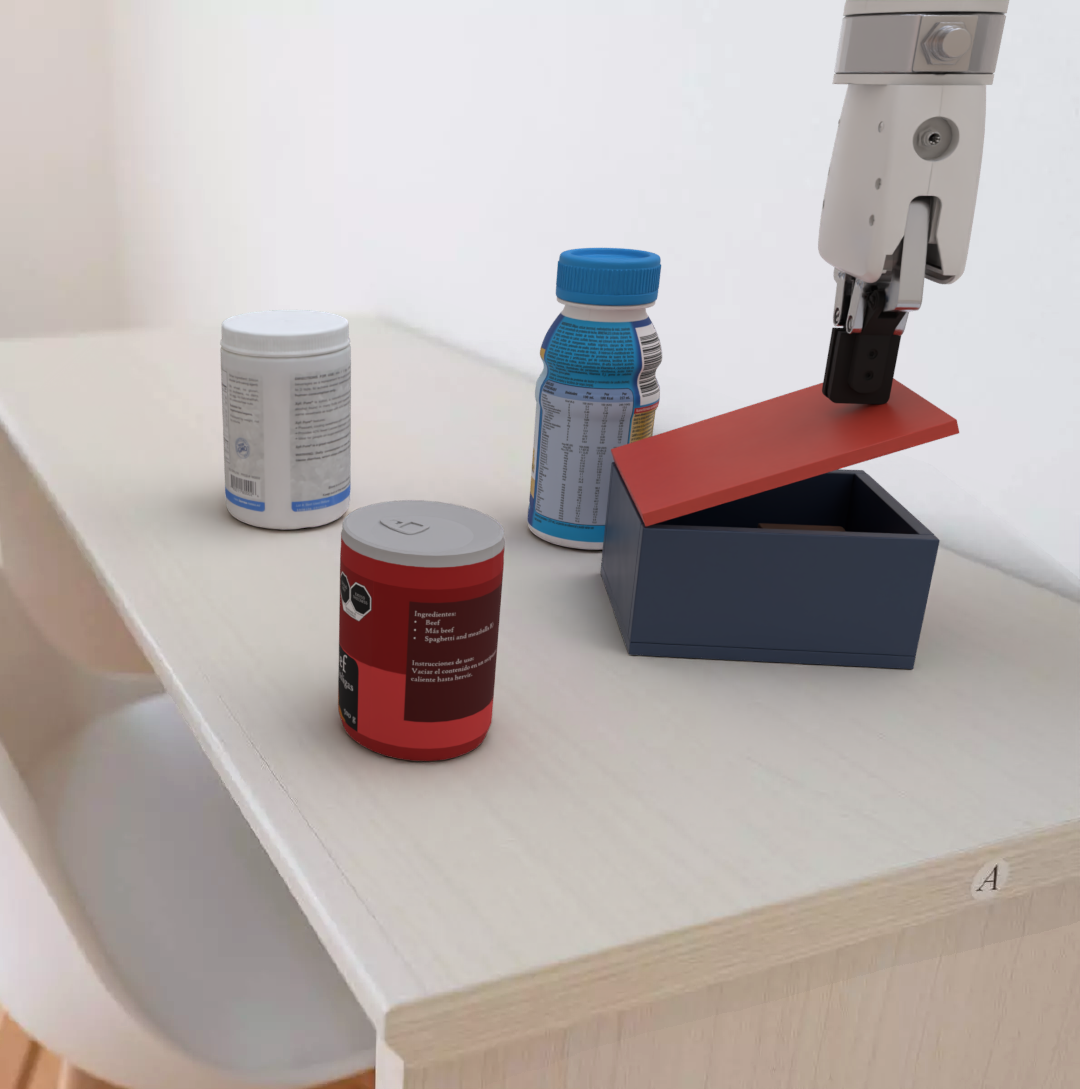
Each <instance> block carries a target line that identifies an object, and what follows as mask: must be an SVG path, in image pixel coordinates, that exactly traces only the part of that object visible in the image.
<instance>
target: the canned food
mask: <svg viewBox="0 0 1080 1089" xmlns="http://www.w3.org/2000/svg"><path fill="white" fill-rule="evenodd" d="M505 543H506V541H505V529H504V526H503V525H502V524H501V523H500V522H499V521H498V520H497V519H495V518H494V517H492V516H490V515H488V514H487V513H484V512H481V511H480V510H477V509H473V508H471V507H467V506H464V505H459V504H455V503H449V502H444V501H435V500H424V499H423V500H418V499H417V500H416V499H405V500H390V501H380V502H377V503H373V504H368V505H365V506H362V507H359V508H357V509H355V510H353V511H350V512H349V513H348V514H347V515H346V516H345V517H344V519H343V521H342V529H341V532H340V553H339V607H338V608H339V610H338V611H339V614H338V618H339V619H338V673H337V674H338V679H337V680H338V682H337V684H338V685H337V709H338V715H339V717H340V720H341V723H342V726H343V728H344V730H345V732H346V734H347V735H348V736H349V737H350V738H351V739H352V740H353V741H355V742H356V743H357V744H359V745H361V747H364V748H366V749H368V750H370V751H371V752H374V753H377V754H379V755H382V756H385V757H389V758H393V759H398V760H404V761H411V762H412V761H413V762H436V761H445V760H449V759H455V758H458V757H461V756H464V755H466V754H468V753H470V752H472V751H473V750H475V749H477V748H478V747H479V746H481V744H482V743H483V742H484V741H485V738H486V736H487V734H488V732H489V730H490V727H491V725H492V722H493V709H494V698H495V697H494V696H495V685H496V684H495V681H496V669H497V657H498V644H499V631H500V618H501V605H502V604H501V603H502V593H503V592H502V591H503V581H504V580H503V578H504V566H505V546H506V544H505Z"/></svg>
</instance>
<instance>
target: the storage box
mask: <svg viewBox="0 0 1080 1089" xmlns="http://www.w3.org/2000/svg"><path fill="white" fill-rule="evenodd" d="M759 523H764V524H790V525H816V526H841V527H843V528H844V529H845V531H846V532H840V531H814V530H788V529H762V528H757V527H758V524H759ZM940 541H941V540H940V539H939V538H938V537H937V536H936V535H935V533H933V532H932V531H931V530H930V529H929V528H928V527H927V526H926V525H924V524H923V523H922V522H921V520H919V519H918V518H917V517H916V516H915V515H913V513H911V512H910V511H909V510H908V509H907V508H906V507H905V506H904V505H902V504H901V503H900V502H899V501H898V500H897V499H896V498H895V497H894V496H893V495H892V494H891V493H889V492H888V491H887V490H886V489H885V488H884V487H883V486H882V485H881V484H880V483H879V482H878V481H877V480H875V478H873V477H872V476H871V475H870V474H868V473H867V472H866V471H865V470H864V469H844V468H841V469H838V470H834V471H831V472H828V473H824V474H821V475H818V476H814V477H811V478H807V479H804V480H801V481H797V482H794V483H791V484H787V485H784V486H781V487H777V488H774V489H771V490H767V491H764V492H760V493H757V494H754V495H750V496H747V497H744V498H740V499H737V500H734V501H730V502H727V503H724V504H720V505H717V506H713V507H710V508H707V509H703V510H700V511H697V512H693V513H690V514H687V515H683V516H680V517H677V518H673V519H670V520H666V521H663V522H660V523H656V524H653V525H650V526H645V524H644V522H643V520H642V518H641V516H640V514H639V511H638V509H637V507H636V505H635V503H634V501H633V499H632V497H631V495H630V493H629V491H628V489H627V487H626V484H625V482H624V480H623V478H622V476H621V474H620V472H619V470H618V468H617V466H616V464H615V462H612V463H611V473H610V483H609V492H608V502H607V512H606V521H605V531H604V541H603V550H602V553H601V560H600V561H601V562H600V568H599V569H600V570H599V574H600V577H601V578H602V582H603V585H604V587H605V590H606V593H607V596H608V599H609V601H610V602H609V603H610V605H611V607H612V610H613V613H614V617H615V619H616V622H617V625H618V628H619V632H620V633H621V637H622V639H623V642H624V645H625V649H626V651H627V654H628V655H629V656H645V657H647V656H648V657H663V658H665V657H668V658H683V659H685V658H686V659H688V658H689V659H703V660H704V659H705V660H724V661H745V662H763V663H764V662H765V663H783V664H784V663H785V664H786V663H787V664H801V665H802V664H803V665H804V664H805V665H822V666H823V665H824V666H842V667H843V666H844V667H860V668H861V667H864V668H882V669H883V668H884V669H900V670H902V669H903V670H913V669H914V668H915V663H916V662H915V661H916V658H917V657H916V656H917V653H918V652H917V651H918V648H919V642H920V637H921V633H922V628H923V623H924V618H925V613H926V608H927V604H928V599H929V594H930V589H931V584H932V579H933V575H934V570H935V566H936V560H937V556H938V551H939V546H940Z"/></svg>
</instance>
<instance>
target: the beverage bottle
mask: <svg viewBox="0 0 1080 1089" xmlns="http://www.w3.org/2000/svg"><path fill="white" fill-rule="evenodd" d="M661 262H662V260H661V256H660V255H659V254H657V253H656V252H652V251H647V250H641V249H633V248H624V247H623V248H622V247H582V248H579V247H578V248H572V249H567V250H563V251H562V252H560V254H559V258H558V261H557V269H556V280H555V285H556V286H555V296H556V301H557V302H558V303H559V304H561V305H564V307H563V308H562V309H561V311H560V312H559V314H558V315H557V316H556V318H555V319H554V320H553V322H552V323H551V325H550V326H549V328H548V329H547V331H546V333H545V335H544V337H543V340H542V341H541V344H540V349H539V358H540V359H541V362H542V364H543V369H542V371H541V373H540V374H539V376H538V378H537V379H536V382H535V388H534V399H535V417H534V429H533V445H532V446H533V447H532V457H531V458H532V460H531V473H530V474H531V475H530V488H529V498H528V499H529V502H528V508H527V517H526V522H527V526H528V529H529V530H530V531H531V532H532V534H534V535H535V536H536V537H538V538H539V539H541V540H543V541H545V542H548V543H551V544H553V545H557V546H560V547H565V548H570V549H578V550H590V551H591V550H593V551H596V550H597V551H599V550H600V551H601V550H602V551H603V541H604V531H605V521H606V512H607V502H608V492H609V483H610V473H611V463H612V462H614V459H613V456H612V453H611V449H613V448H616V447H620V446H623V445H626V444H629V443H632V442H636V441H639V440H642V439H645V438H648V437H651V436H654V435H653V434H654V426H655V420H656V419H655V417H656V411H657V410H658V407H659V404H660V399H661V386H660V384H659V381H658V378H657V377H656V373H657V369H658V368H659V366H660V365H661V363H662V362H663V349H662V344H661V340H660V337H659V334H658V332H657V329H656V327H655V325H654V323H653V321H652V319H651V318H650V316H649V315H648V313H647V309H648V308H651V307H654V306H655V305H656V301H657V299H658V296H659V290H660V280H661V273H662V263H661Z"/></svg>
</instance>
